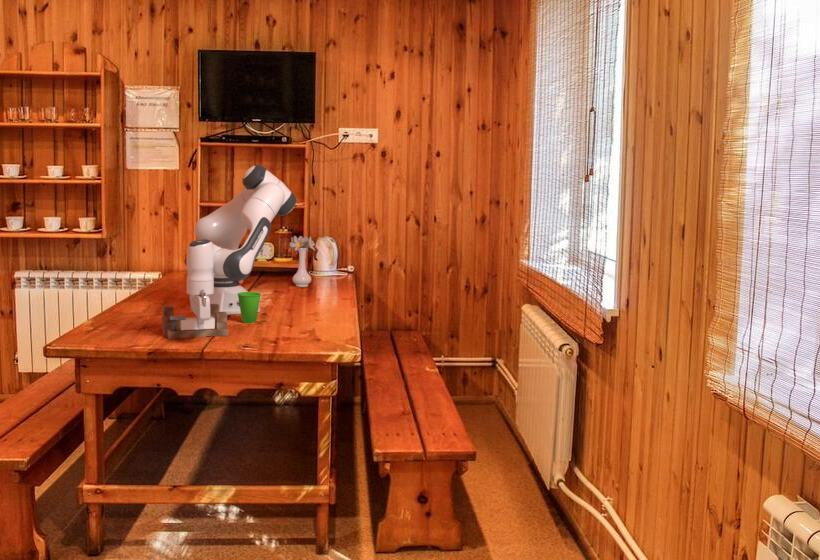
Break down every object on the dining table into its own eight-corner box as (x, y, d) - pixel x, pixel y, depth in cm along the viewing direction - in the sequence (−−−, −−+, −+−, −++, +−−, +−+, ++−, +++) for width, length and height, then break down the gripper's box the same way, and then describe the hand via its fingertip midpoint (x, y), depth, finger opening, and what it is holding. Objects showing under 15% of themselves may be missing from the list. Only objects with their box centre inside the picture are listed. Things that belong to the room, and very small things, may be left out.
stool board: (218, 324, 296) (218, 303, 295) (227, 335, 278) (227, 313, 277) (159, 327, 288) (159, 305, 287) (165, 339, 270) (165, 316, 269)
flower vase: (312, 283, 406) (312, 234, 402) (316, 288, 388) (317, 237, 384) (286, 283, 403) (286, 233, 399) (289, 288, 385) (289, 237, 381)
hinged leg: (170, 330, 271) (170, 317, 270) (169, 328, 274) (169, 315, 273) (214, 328, 276) (214, 315, 276) (213, 326, 279) (213, 313, 279)
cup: (249, 325, 297) (249, 296, 295) (231, 322, 301) (231, 293, 300) (266, 322, 304) (266, 293, 303) (248, 318, 309) (248, 290, 307)
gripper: (215, 292, 259) (215, 334, 261) (205, 283, 278) (205, 322, 280) (195, 293, 257) (195, 335, 259) (186, 283, 275) (186, 323, 277)
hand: (200, 328), depth 270 cm, fingers closed
